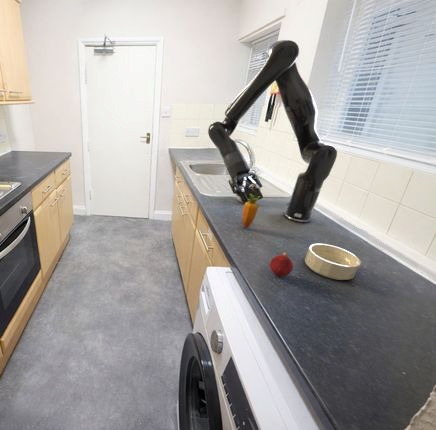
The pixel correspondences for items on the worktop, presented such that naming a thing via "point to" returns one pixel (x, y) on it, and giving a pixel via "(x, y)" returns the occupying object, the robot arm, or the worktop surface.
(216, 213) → the worktop surface
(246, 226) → the carrot
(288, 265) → the onion
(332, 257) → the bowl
